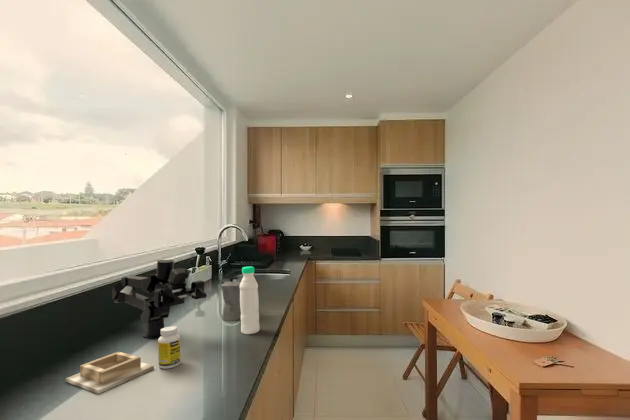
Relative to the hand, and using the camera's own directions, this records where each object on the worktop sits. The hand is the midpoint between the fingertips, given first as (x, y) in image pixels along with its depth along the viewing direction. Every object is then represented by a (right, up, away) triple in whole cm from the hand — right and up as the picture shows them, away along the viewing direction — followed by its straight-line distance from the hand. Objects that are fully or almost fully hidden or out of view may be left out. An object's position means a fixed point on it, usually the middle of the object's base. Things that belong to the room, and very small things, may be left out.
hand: (195, 298), depth 120 cm
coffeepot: (+4, -18, +35) cm, 39 cm away
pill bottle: (-3, -17, -14) cm, 22 cm away
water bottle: (+16, -17, +14) cm, 27 cm away
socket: (-17, -17, -20) cm, 31 cm away
